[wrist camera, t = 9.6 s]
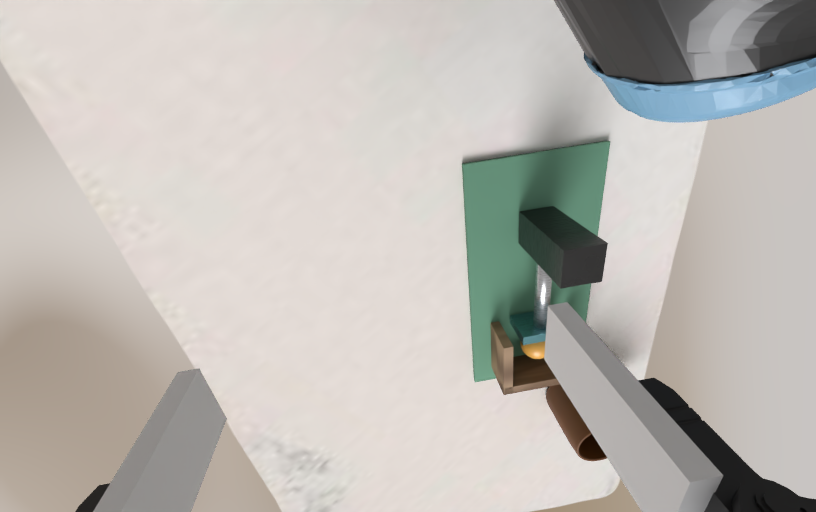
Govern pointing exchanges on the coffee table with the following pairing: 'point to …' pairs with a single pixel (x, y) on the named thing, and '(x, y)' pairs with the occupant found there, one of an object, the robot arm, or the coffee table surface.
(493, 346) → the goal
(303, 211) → the coffee table surface
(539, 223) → the rod
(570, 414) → the mug
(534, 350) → the ball
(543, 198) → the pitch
